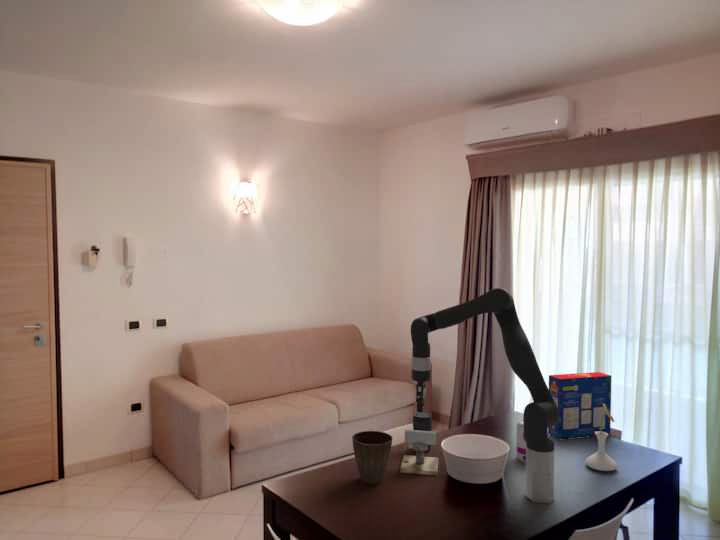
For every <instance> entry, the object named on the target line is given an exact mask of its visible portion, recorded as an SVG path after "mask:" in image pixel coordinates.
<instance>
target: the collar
mask: <svg viewBox="0 0 720 540" xmlns="http://www.w3.org/2000/svg"><path fill="white" fill-rule="evenodd" d="M436 435H437V432H436V431H433V430H431V431H420V430H413V429H404V444H408V448H409V449H412V450H413V451H415V452H416V451H418V452H424V451H427V450H428V445H431V446H435V445H436V443H437V442H436V441H437V436H436ZM424 453H425V452H424Z"/></svg>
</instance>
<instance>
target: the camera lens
mask: <svg viewBox="0 0 720 540" xmlns="http://www.w3.org/2000/svg"><path fill="white" fill-rule="evenodd" d="M412 417H413V418H412V430H420V431H432V429H433V428H432V427H433V417H432V414H431V413H428V412H416V413H414V414H413V416H412ZM431 447H432V445H428V450H427V451H428V452H430V450H431ZM424 453H426V452H425V451H424Z"/></svg>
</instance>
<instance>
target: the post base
mask: <svg viewBox="0 0 720 540" xmlns="http://www.w3.org/2000/svg"><path fill="white" fill-rule="evenodd" d="M439 459H440V458H439V457H435V456H434V457H431V456H425V452H418V451H415V455H407V454H404V455H403V458H402V461H401V465H400V469H399V471H400V473H401V474H402V473H403V474H404V473H405V474H416V475H427V476H438V471H439V461H440V460H439Z"/></svg>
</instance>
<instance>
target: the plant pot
mask: <svg viewBox="0 0 720 540" xmlns="http://www.w3.org/2000/svg"><path fill="white" fill-rule="evenodd" d="M351 438H352V439H351V441H352V448H353V454H354V458H355V463H356V467H357V471H358V474H359V476H360V479H361V482H363V483H364V484H368V485H377V484H381V482H382V481H383V479H384V475H385V474H386V473H385V472H386V471H387V470H386V469H387V466H388V464H389V459H390V455H391V450H392V445H393V440H394V439H393V436H392V435H391V434H389V433H387V432H383V431H377V430H365V431H359V432H356V433H354V434H353V435H351Z"/></svg>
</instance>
